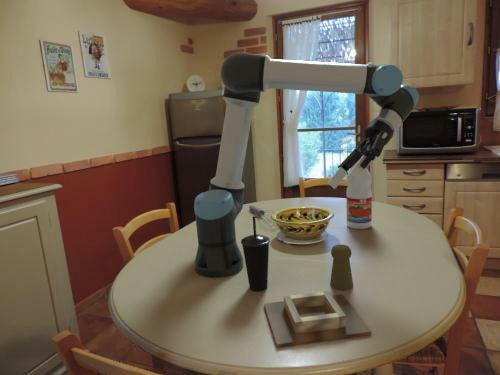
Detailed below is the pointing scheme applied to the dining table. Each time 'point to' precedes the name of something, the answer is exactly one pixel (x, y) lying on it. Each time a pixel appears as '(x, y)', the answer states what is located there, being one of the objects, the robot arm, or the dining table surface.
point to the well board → (313, 319)
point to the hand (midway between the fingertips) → (341, 181)
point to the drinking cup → (256, 259)
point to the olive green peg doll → (341, 268)
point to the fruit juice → (359, 201)
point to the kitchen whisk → (259, 212)
